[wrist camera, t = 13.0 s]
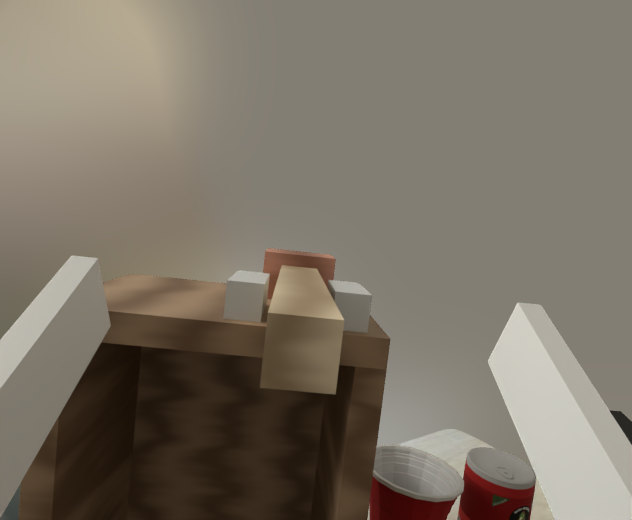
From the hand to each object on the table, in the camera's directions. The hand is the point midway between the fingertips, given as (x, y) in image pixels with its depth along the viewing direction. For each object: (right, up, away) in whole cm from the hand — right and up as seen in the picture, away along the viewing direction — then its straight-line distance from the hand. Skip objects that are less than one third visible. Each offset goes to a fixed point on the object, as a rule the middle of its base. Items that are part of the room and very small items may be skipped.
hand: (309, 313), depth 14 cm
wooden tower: (-10, -31, +23) cm, 40 cm away
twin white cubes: (-1, -2, +17) cm, 17 cm away
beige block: (-1, -2, +16) cm, 16 cm away
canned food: (+21, -34, +38) cm, 55 cm away
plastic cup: (+9, -33, +34) cm, 48 cm away
